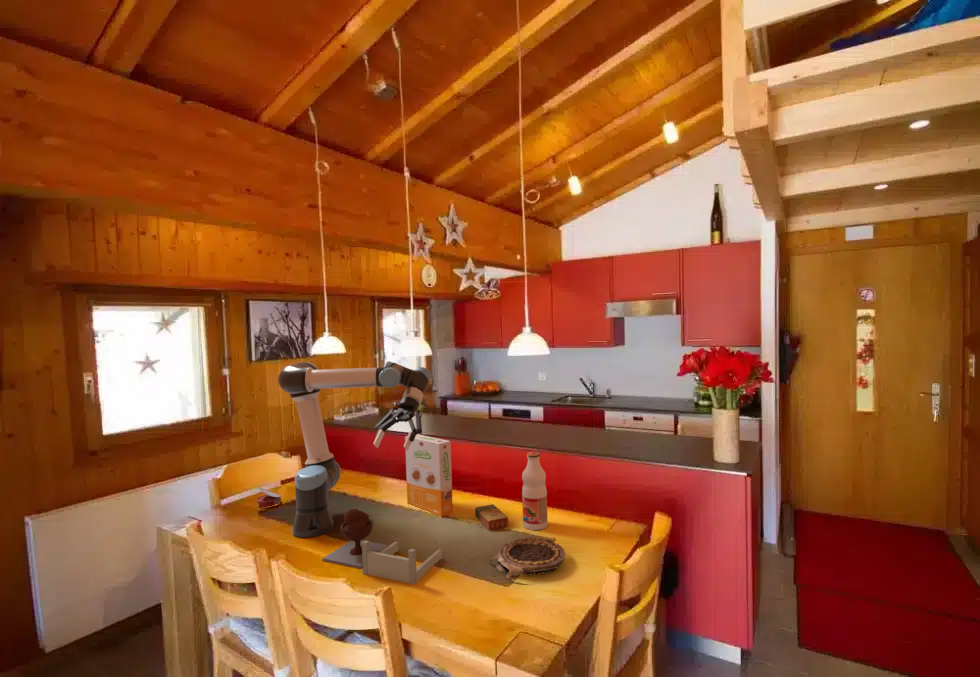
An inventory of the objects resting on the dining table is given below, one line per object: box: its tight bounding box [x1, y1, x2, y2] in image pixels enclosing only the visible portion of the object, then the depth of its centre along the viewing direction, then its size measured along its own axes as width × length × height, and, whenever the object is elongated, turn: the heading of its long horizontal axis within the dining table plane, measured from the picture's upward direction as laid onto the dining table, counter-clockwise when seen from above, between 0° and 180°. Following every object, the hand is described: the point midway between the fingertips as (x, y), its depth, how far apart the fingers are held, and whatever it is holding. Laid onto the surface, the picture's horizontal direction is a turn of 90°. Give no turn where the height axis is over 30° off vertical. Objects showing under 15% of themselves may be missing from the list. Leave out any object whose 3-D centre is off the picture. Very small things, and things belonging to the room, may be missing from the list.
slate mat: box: [322, 539, 391, 570], centre depth 169 cm, size 16×16×1 cm
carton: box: [474, 503, 509, 532], centre depth 194 cm, size 8×16×4 cm, turn 21°
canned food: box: [256, 486, 282, 507], centre depth 221 cm, size 11×10×10 cm
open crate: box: [362, 540, 443, 586], centre depth 159 cm, size 19×17×10 cm
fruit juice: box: [521, 451, 549, 531], centre depth 188 cm, size 9×9×28 cm
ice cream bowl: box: [340, 508, 374, 555], centre depth 169 cm, size 11×11×15 cm
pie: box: [489, 537, 566, 586], centre depth 159 cm, size 28×27×5 cm
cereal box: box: [404, 434, 454, 518], centre depth 209 cm, size 22×6×30 cm, turn 47°
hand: (390, 447), depth 184 cm, fingers open, 13 cm apart
